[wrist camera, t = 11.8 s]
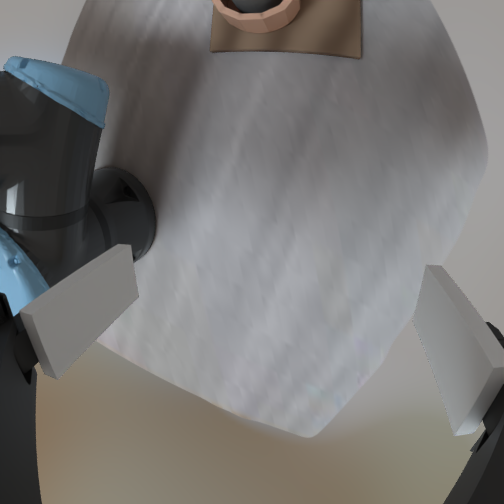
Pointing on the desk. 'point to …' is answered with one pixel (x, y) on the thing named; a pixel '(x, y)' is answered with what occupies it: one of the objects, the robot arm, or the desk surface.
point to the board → (299, 31)
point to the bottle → (255, 5)
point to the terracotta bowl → (259, 16)
